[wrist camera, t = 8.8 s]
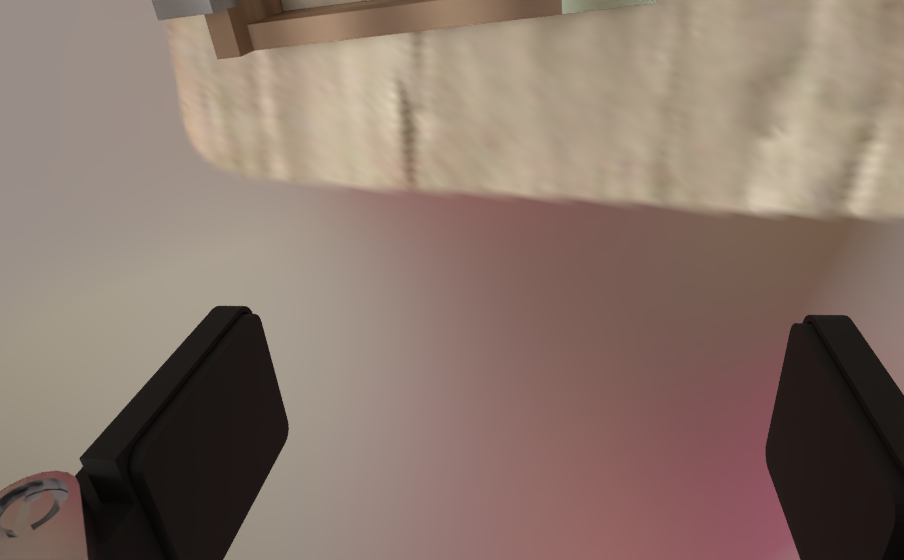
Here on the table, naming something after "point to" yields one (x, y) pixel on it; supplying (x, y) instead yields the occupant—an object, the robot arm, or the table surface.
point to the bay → (354, 18)
